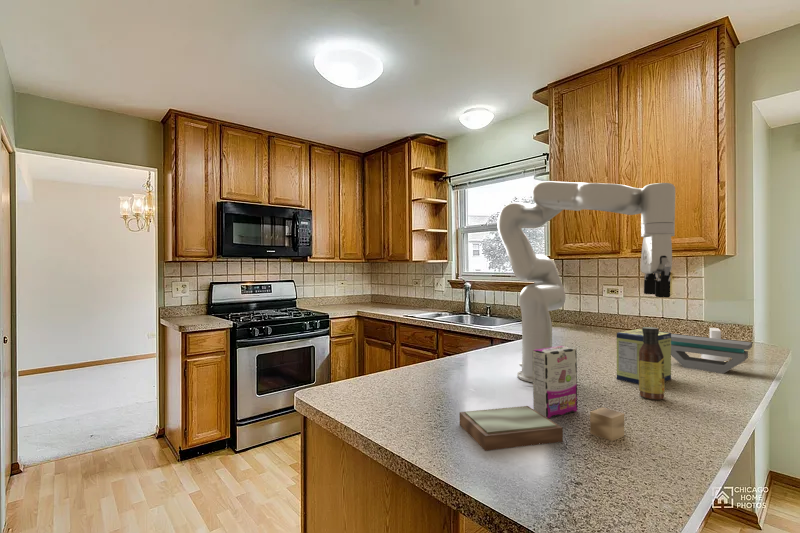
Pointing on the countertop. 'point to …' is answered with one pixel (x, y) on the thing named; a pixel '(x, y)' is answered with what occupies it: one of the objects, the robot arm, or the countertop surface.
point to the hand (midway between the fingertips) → (656, 295)
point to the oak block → (607, 423)
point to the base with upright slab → (716, 334)
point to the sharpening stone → (708, 352)
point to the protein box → (629, 354)
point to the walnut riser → (510, 427)
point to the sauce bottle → (651, 366)
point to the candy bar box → (555, 381)
